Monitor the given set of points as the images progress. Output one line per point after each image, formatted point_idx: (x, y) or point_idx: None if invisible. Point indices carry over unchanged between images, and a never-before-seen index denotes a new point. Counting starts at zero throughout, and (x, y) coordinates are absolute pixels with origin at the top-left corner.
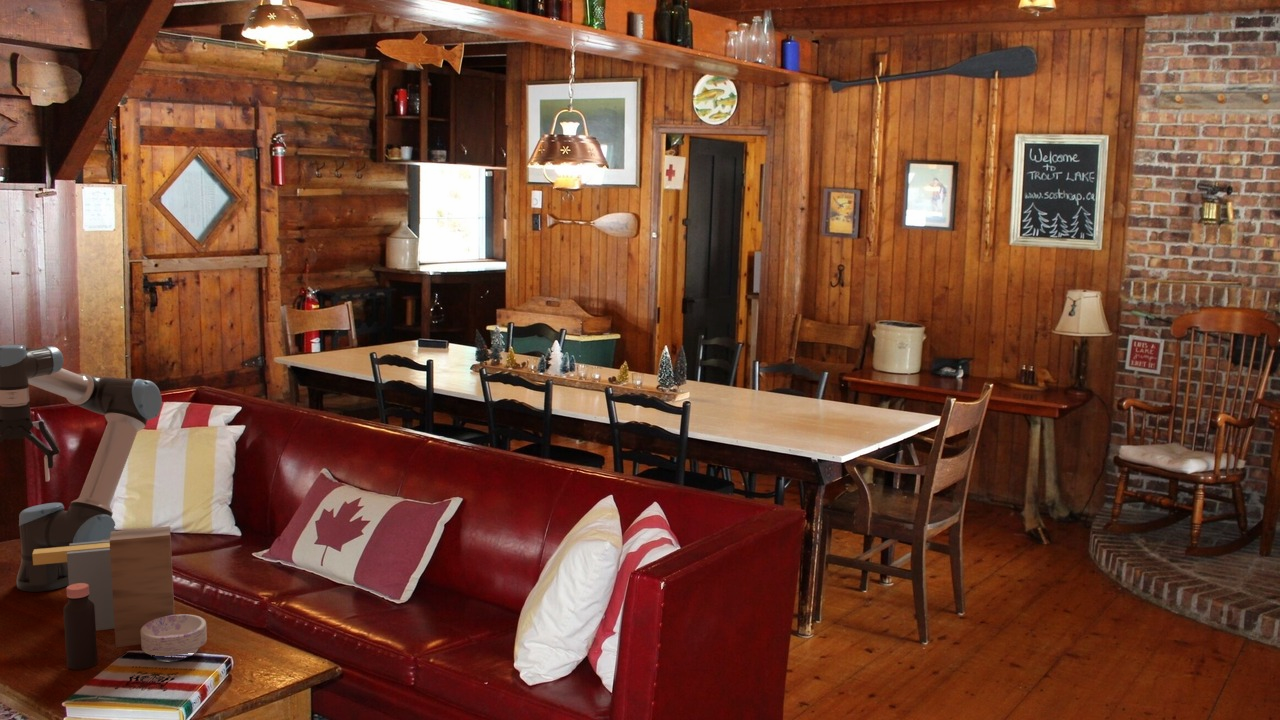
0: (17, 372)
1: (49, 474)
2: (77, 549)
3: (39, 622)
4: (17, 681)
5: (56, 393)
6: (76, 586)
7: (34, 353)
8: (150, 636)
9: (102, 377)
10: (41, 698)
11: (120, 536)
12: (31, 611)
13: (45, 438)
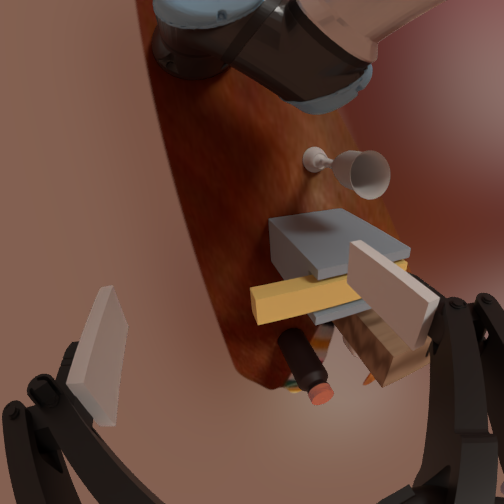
0: None
1: (372, 248)
2: (331, 304)
3: (221, 215)
4: (239, 364)
5: None
6: (321, 398)
7: None
8: (356, 356)
9: None
10: (265, 386)
11: (396, 373)
12: (199, 166)
13: (490, 416)
